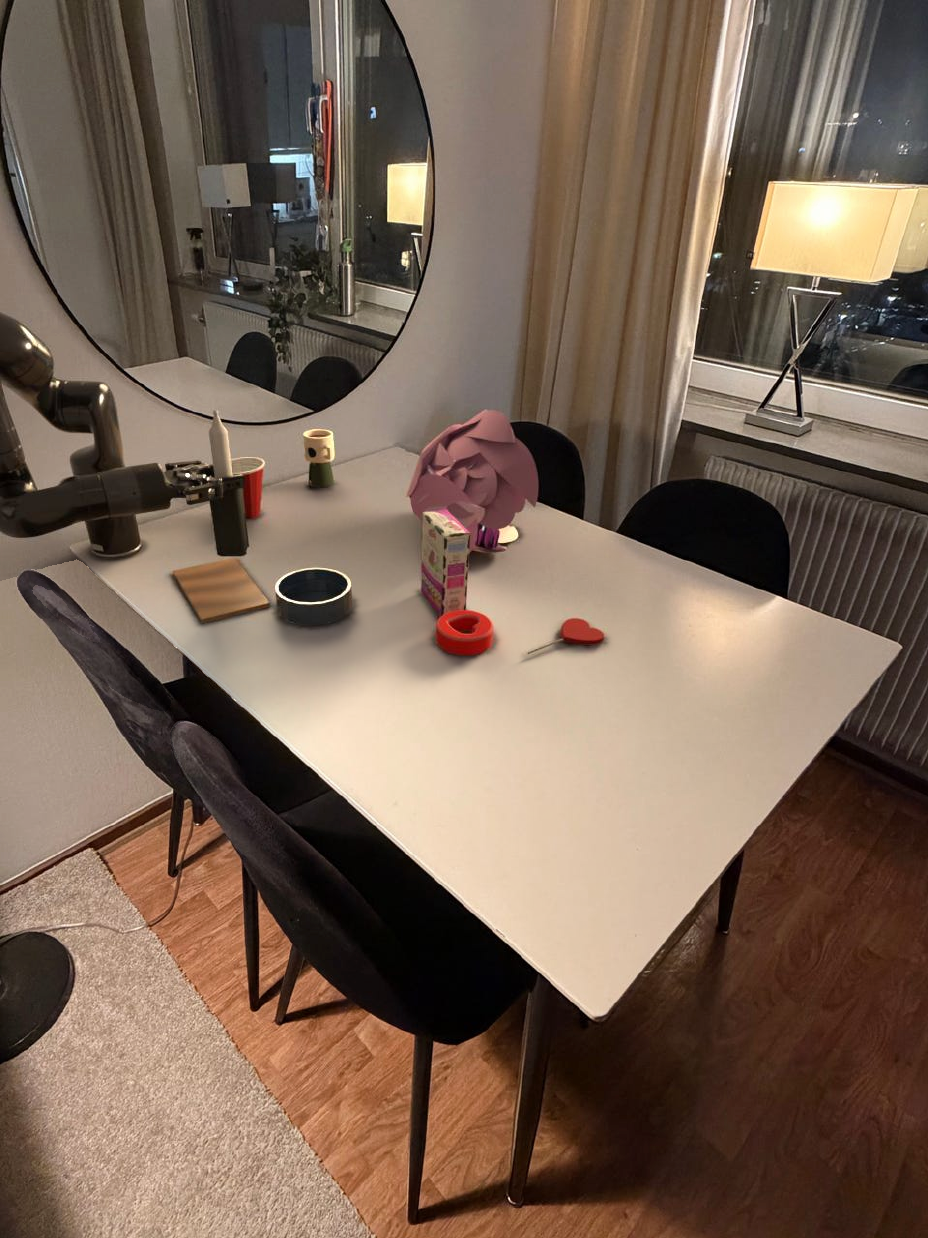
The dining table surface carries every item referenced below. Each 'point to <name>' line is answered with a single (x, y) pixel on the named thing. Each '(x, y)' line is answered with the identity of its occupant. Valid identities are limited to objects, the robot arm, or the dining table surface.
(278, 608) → the bowl
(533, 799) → the dining table surface
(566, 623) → the lollipop
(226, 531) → the candle
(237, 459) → the plastic cup
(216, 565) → the mat
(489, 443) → the flower arrangement
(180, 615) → the dining table surface
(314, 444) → the character mug
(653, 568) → the dining table surface
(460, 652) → the decorative ornament
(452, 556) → the candy bar box
